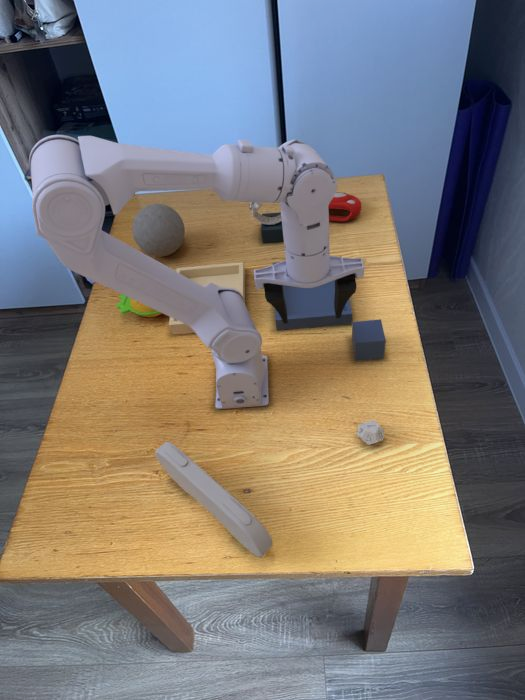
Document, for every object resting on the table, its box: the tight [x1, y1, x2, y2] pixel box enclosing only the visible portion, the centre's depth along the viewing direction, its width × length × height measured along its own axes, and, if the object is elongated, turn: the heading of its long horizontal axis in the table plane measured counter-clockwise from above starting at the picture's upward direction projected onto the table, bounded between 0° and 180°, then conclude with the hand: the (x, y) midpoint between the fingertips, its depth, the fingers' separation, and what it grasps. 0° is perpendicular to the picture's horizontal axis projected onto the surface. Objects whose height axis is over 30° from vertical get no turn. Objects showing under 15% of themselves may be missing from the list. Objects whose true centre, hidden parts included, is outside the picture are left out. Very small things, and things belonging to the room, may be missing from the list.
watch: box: [249, 202, 284, 244], centre depth 99 cm, size 6×8×11 cm
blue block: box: [351, 318, 387, 362], centre depth 80 cm, size 4×4×4 cm
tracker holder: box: [328, 191, 362, 223], centre depth 104 cm, size 12×4×10 cm
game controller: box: [154, 441, 274, 558], centre depth 64 cm, size 20×2×8 cm, turn 47°
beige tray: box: [168, 261, 246, 336], centre depth 91 cm, size 15×13×2 cm
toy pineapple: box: [115, 294, 163, 318], centre depth 90 cm, size 7×10×5 cm
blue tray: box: [272, 256, 353, 331], centre depth 89 cm, size 15×13×2 cm
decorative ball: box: [131, 203, 186, 257], centre depth 99 cm, size 10×10×10 cm
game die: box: [356, 419, 386, 446], centre depth 70 cm, size 4×4×3 cm
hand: (311, 316), depth 75 cm, fingers open, 7 cm apart
